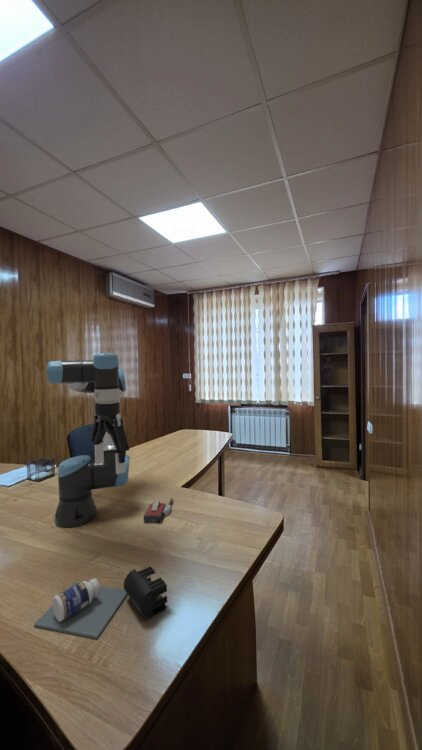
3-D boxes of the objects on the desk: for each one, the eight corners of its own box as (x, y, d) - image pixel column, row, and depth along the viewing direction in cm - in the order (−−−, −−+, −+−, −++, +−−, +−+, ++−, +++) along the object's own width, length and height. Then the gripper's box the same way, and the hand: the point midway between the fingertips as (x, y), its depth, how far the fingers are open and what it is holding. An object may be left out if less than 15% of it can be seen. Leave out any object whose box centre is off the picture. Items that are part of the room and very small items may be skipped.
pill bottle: (54, 592, 71) (94, 570, 78) (50, 604, 73) (89, 582, 81) (63, 615, 68) (104, 590, 76) (58, 627, 71) (98, 602, 78)
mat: (34, 626, 70) (34, 624, 70) (74, 584, 84) (74, 582, 84) (97, 639, 67) (97, 636, 67) (128, 592, 80) (128, 590, 80)
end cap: (123, 599, 78) (122, 573, 78) (149, 587, 82) (148, 562, 82) (140, 625, 70) (139, 596, 70) (168, 610, 74) (167, 582, 74)
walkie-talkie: (165, 525, 114) (174, 502, 134) (165, 513, 114) (174, 492, 134) (142, 525, 115) (154, 502, 135) (141, 513, 115) (154, 492, 135)
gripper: (78, 400, 105) (81, 462, 105) (116, 406, 87) (119, 481, 88) (99, 398, 110) (102, 457, 111) (139, 403, 93) (141, 473, 94)
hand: (109, 468), depth 100 cm, fingers open, 13 cm apart
